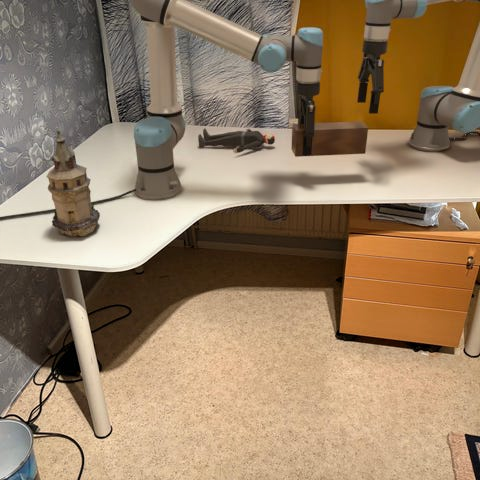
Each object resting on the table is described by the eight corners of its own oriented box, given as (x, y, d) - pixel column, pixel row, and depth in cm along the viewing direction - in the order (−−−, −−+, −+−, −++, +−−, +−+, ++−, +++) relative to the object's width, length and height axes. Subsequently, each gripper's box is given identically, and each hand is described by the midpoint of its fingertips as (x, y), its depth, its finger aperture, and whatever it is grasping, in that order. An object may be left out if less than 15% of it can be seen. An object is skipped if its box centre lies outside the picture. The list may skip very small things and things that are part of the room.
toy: (208, 122, 226) (279, 122, 220) (210, 136, 230) (279, 136, 223) (191, 142, 204) (269, 142, 198) (193, 157, 207) (270, 158, 201)
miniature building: (80, 214, 164) (63, 117, 149) (111, 225, 157) (96, 125, 142) (44, 231, 154) (22, 130, 140) (75, 244, 147) (55, 139, 133)
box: (295, 156, 175) (296, 130, 171) (291, 149, 181) (292, 123, 177) (365, 153, 177) (368, 127, 172) (359, 146, 183) (361, 121, 179)
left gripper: (327, 88, 158) (322, 161, 170) (313, 73, 176) (309, 140, 187) (302, 89, 158) (299, 162, 169) (290, 74, 175) (288, 141, 187)
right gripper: (401, 46, 156) (390, 118, 167) (375, 34, 178) (367, 98, 188) (376, 46, 156) (366, 118, 166) (353, 34, 177) (346, 98, 188)
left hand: (304, 151), depth 178 cm, fingers closed on box, 7 cm apart
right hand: (367, 107), depth 177 cm, fingers open, 13 cm apart
